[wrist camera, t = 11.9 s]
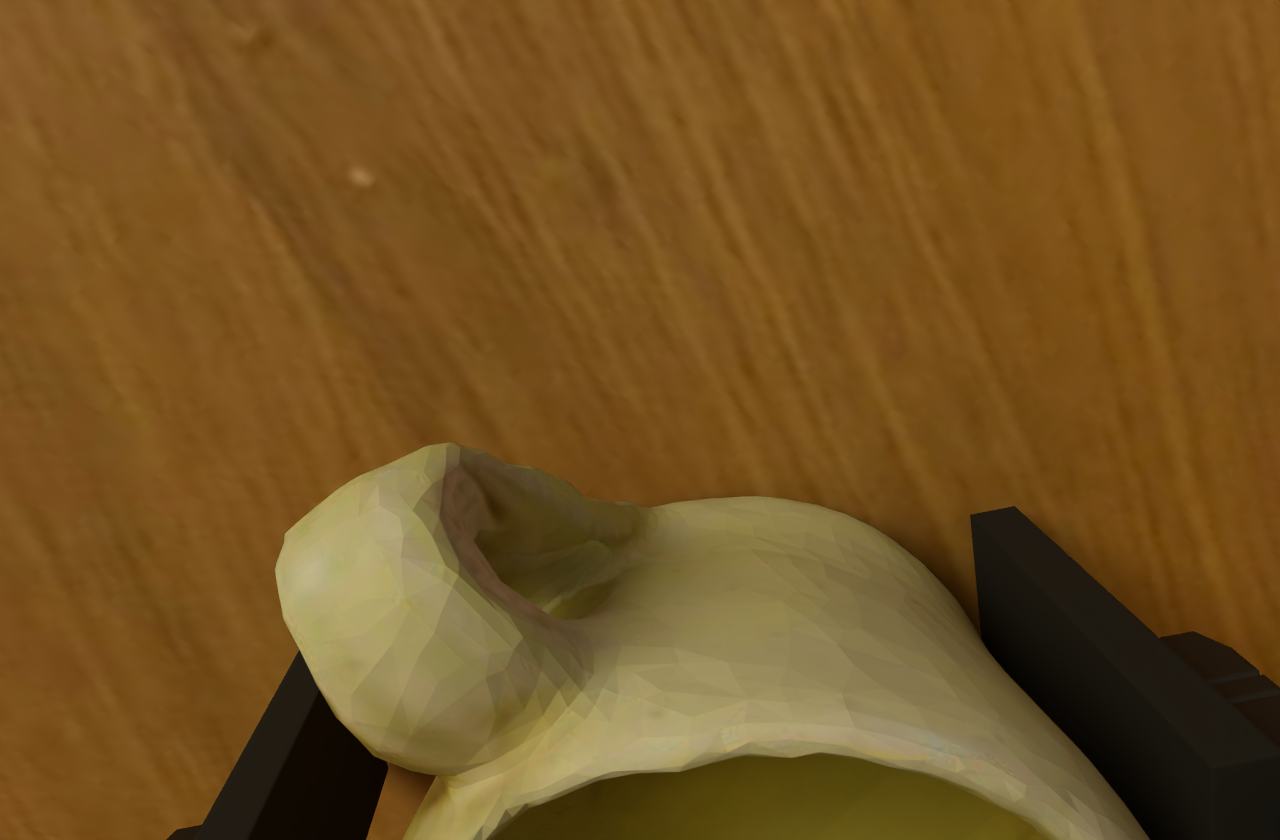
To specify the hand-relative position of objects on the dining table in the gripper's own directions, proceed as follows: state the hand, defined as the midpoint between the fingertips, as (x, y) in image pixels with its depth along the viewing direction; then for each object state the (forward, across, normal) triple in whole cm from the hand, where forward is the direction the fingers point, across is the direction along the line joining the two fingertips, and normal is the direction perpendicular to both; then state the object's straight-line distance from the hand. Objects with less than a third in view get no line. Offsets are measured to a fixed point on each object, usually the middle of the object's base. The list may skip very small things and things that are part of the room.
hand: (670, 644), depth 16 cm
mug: (+1, 0, 0) cm, 1 cm away
